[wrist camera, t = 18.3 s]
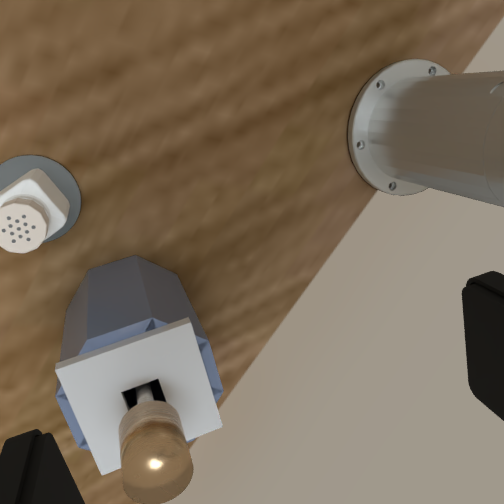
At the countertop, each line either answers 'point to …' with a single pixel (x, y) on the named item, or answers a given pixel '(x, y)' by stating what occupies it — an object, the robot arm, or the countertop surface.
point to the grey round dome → (59, 176)
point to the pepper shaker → (30, 212)
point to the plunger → (153, 450)
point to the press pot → (133, 356)
